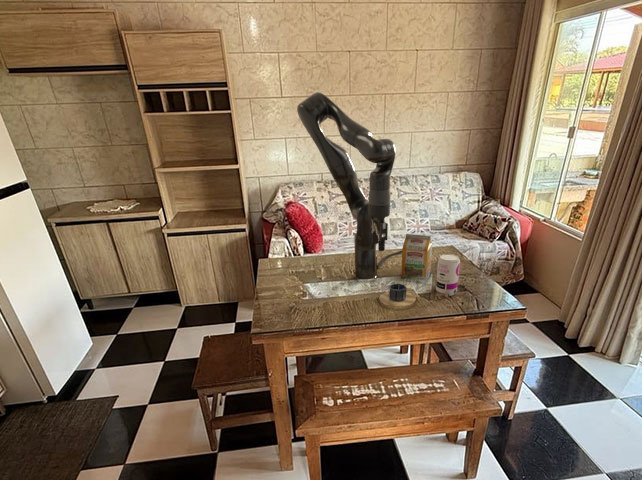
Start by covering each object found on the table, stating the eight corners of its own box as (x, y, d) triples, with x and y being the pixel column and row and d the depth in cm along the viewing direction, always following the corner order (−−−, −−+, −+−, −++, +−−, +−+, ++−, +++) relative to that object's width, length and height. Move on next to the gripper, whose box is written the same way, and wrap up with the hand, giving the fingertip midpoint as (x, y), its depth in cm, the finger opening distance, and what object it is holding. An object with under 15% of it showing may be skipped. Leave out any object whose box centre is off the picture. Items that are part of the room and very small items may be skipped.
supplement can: (457, 289, 166) (461, 254, 159) (455, 298, 160) (459, 261, 152) (437, 287, 169) (440, 252, 161) (434, 295, 162) (437, 259, 155)
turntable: (391, 291, 167) (391, 288, 166) (421, 299, 159) (422, 296, 159) (372, 303, 158) (372, 300, 157) (403, 313, 150) (403, 309, 149)
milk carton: (401, 280, 177) (402, 237, 168) (406, 271, 185) (408, 230, 176) (425, 282, 173) (428, 239, 164) (430, 274, 182) (433, 232, 173)
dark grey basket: (391, 302, 155) (391, 290, 152) (387, 295, 160) (387, 284, 158) (412, 300, 155) (413, 289, 153) (408, 293, 161) (408, 282, 159)
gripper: (364, 198, 147) (363, 242, 155) (374, 207, 135) (373, 254, 143) (384, 197, 148) (382, 240, 156) (395, 205, 136) (393, 252, 144)
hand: (378, 247), depth 150 cm, fingers open, 8 cm apart
